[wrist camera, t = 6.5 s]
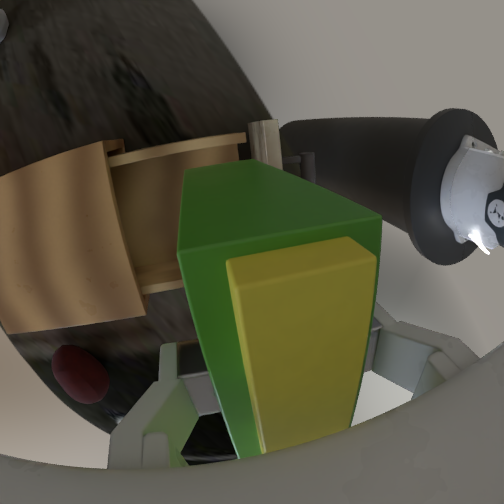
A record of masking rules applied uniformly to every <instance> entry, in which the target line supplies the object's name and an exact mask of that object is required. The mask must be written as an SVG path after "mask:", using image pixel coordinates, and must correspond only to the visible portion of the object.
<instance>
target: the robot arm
mask: <svg viewBox="0 0 504 504" xmlns="http://www.w3.org/2000/svg"><path fill="white" fill-rule="evenodd" d="M440 205H441V212H442V215H443V218H444V221H445V223H446V224H447V225H448V227H449V228H450V229H452V231H453V232H454V236H455V239H456V241H457V242H459V243H464V242H466V241H468V240H471V241H473V242H475V243H476V244H477V245H478V246H479V247H480V248H481V249H482V250H483V251H484V252H485V253H487V254H489V252H488V251H487V250H486V249H485V248H484V247H483V246H485V247H487V248H489V249H493V248H495V247H497V246H498V245H500V246H502V247H504V151H501V152H500V151H498V150H497V149H495V148H493V147H491V146H489V145H488V144H486V143H484V142H482V141H480V140H478V139H476V138H474V137H472V136H469V135H465V136H464V137H463V139H462V142H461V144H460V147H459V149H458V150H457V152H456V153H455V154H454V155H453V156H452V158H451V159H450V161H449V163H448V165H447V167H446V169H445V172H444V175H443V179H442V184H441V192H440ZM370 370H372V371H373V372H375V373H376V374H378V375H380V376H382V377H384V378H386V379H388V380H390V381H391V382H393V383H395V384H397V385H399V386H401V387H403V388H405V389H407V390H409V391H411V392H413V393H414V394H413V396H412V398H411V401H409V402H406V403H404V404H402V405H400V406H399V407H396V408H394V409H392V410H390V411H388V412H385V413H383V414H381V415H379V416H376V417H374V418H372V419H369V420H367V421H365V422H363V423H360V424H357V425H355V426H352V427H349V428H347V429H344V430H341V431H339V432H336V433H333V434H330V435H327V436H324V437H321V438H318V439H315V440H312V441H309V442H305V443H302V444H299V445H295V446H292V447H288V448H284V449H280V450H277V451H272V452H268V453H264V454H260V455H255V456H250V457H245V458H240V459H235V460H229V461H223V462H217V463H210V464H203V465H194V466H189V465H188V464H187V462H186V461H185V460H184V458H183V457H182V455H181V454H180V452H181V450H182V448H183V447H184V445H185V443H186V441H187V439H188V437H189V435H190V433H191V431H192V429H193V427H194V426H195V424H196V422H197V420H198V418H199V417H198V416H200V415H206V414H211V413H216V412H221V409H220V407H219V404H218V401H217V398H216V395H215V392H214V388H213V385H212V382H211V379H210V376H209V373H208V370H207V366H206V363H205V360H204V356H203V353H202V350H201V346H200V343H199V339H194V340H187V341H180V342H175V343H168V344H162V346H161V347H160V363H159V381H158V382H154V383H153V384H152V385H151V386H150V387H149V389H148V390H147V391H146V392H145V393H144V395H143V396H142V397H141V398H140V399H139V401H138V402H137V403H136V404H135V405H134V406H133V408H132V409H131V410H130V411H129V412H128V414H127V415H126V416H125V417H124V418H123V419H122V421H121V422H120V423H119V424H118V425H117V426H116V428H115V429H114V430H113V431H112V432H111V437H110V445H109V455H108V465H107V469H97V468H83V467H71V466H63V465H55V464H48V463H42V462H36V461H30V460H25V459H21V458H16V457H11V456H7V455H3V454H0V504H504V342H502V343H501V344H500V345H499V346H497V347H496V348H495V349H493V350H492V351H491V352H489V353H488V354H486V355H485V356H483V357H482V358H481V359H480V358H479V357H478V356H477V355H476V354H475V353H474V352H473V351H472V350H471V349H470V348H469V347H467V346H466V345H465V344H464V343H463V342H462V341H461V340H460V339H459V338H455V337H452V336H448V335H445V334H442V333H438V332H435V331H432V330H428V329H425V328H422V327H418V326H415V325H412V324H408V323H405V322H402V321H399V322H396V321H395V320H394V319H393V318H392V317H391V316H390V315H389V314H388V313H387V312H386V311H385V310H384V309H383V308H382V307H381V306H380V305H379V304H378V303H377V302H375V309H374V316H373V323H372V330H371V336H370V342H369V347H368V353H367V358H366V363H365V368H364V372H367V371H370Z"/></svg>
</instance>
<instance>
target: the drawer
mask: <svg viewBox="0 0 504 504" xmlns="http://www.w3.org/2000/svg"><path fill="white" fill-rule="evenodd" d="M248 130H249V139H250V148H251V157H252V159H255V160H258V161H260V162H263V163H266V164H268V165H271V166H273V167H276V168H278V169H281V170H283V167H282V164H289V163H299V162H300V170H301V178H302V179H305V180H307V181H309V182H311V183H314V184H316V172H315V157H314V153H313V152H303V153H299V156H289V157H282V156H281V146H280V136H279V126H278V119H273V120H262V121H256V122H251V123H248ZM245 142H246V133H245V132H241V133H229V134H221V135H214V136H207V137H201V138H195V139H189V140H183V141H178V142H173V143H167V144H162V145H157V146H153V147H148V148H143V149H139V150H135V151H130V152H126V153H122V154H118V155H114V156H110V157H108V161H109V167H110V172H111V177H112V182H113V187H114V192H115V196H116V201H117V205H118V210H119V214H120V218H121V222H122V226H123V230H124V234H125V238H126V242H127V245H128V249H129V253H130V256H131V260H132V263H133V267H134V270H135V273H136V277H137V280H138V283H139V286H140V289H141V292H142V295H143V294H149V293H154V292H160V291H165V290H171V289H176V288H181V287H184V283H183V279H182V275H181V271H180V267H179V263H178V258H177V242H178V229H179V217H180V207H181V196H182V187H183V178H184V170H185V169H191V168H197V167H202V166H208V165H215V164H221V163H228V162H234V161H239V154H238V146H237V143H245Z"/></svg>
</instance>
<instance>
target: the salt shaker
mask: <svg viewBox="0 0 504 504" xmlns="http://www.w3.org/2000/svg"><path fill="white" fill-rule="evenodd" d="M8 26H9V23H8V19H7V16H6V14H5V12H4V10H2V9H0V42H1V41H2V40H3V39H4V38H5V36H6V33H7V29H8Z"/></svg>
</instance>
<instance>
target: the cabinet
mask: <svg viewBox="0 0 504 504" xmlns="http://www.w3.org/2000/svg"><path fill="white" fill-rule="evenodd" d="M122 153H126V151H125V145H124V139H116V140H105V141H99V142H95V143H92V144H89V145H85V146H82V147H79V148H76V149H72V150H69V151H66V152H63V153H60V154H57V155H54V156H52V157H49V158H46V159H43V160H41V161H38V162H35V163H33V164H30V165H27V166H25V167H22V168H20V169H18V170H15V171H13V172H10V173H8V174H6V175H3V176H1V177H0V321H1V323H2V325H3V327H4V328H5V330H6V332H7V334H15V333H24V332H32V331H41V330H49V329H57V328H64V327H72V326H79V325H86V324H93V323H100V322H106V321H113V320H119V319H125V318H131V317H137V316H143V315H146V314H147V308H148V301H149V295H150V293H149V294H143V295H142V292H141V289H140V286H139V283H138V280H137V277H136V273H135V270H134V267H133V263H132V260H131V256H130V253H129V249H128V245H127V242H126V238H125V234H124V230H123V226H122V222H121V218H120V214H119V210H118V205H117V201H116V196H115V192H114V187H113V182H112V177H111V172H110V167H109V161H108V157H110V156H114V155H118V154H122Z"/></svg>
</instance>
